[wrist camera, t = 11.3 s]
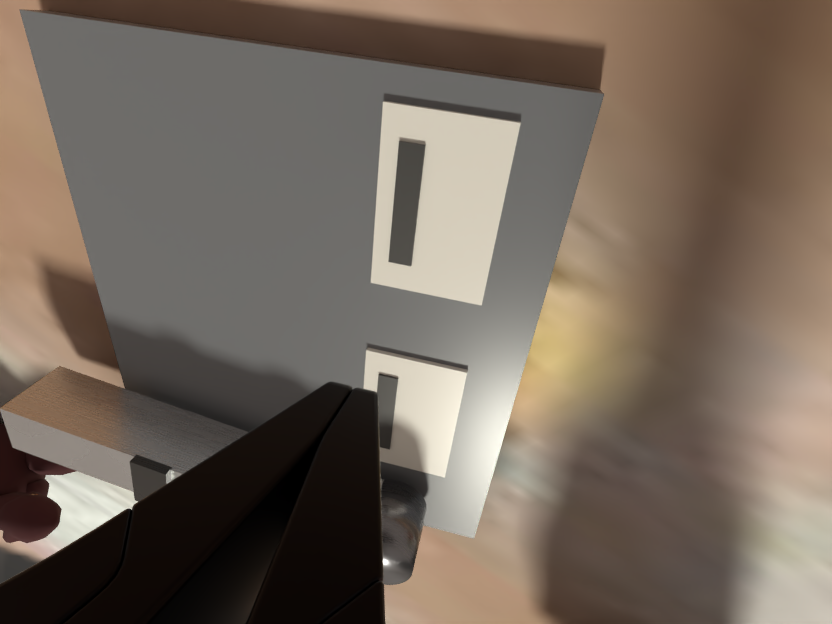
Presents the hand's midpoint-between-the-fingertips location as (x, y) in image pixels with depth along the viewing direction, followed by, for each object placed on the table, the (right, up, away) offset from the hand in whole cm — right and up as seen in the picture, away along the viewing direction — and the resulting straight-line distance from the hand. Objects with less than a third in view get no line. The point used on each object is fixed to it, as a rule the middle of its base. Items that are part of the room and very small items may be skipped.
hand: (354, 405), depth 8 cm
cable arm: (-7, -5, +15) cm, 17 cm away
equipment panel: (-4, +1, +12) cm, 13 cm away
